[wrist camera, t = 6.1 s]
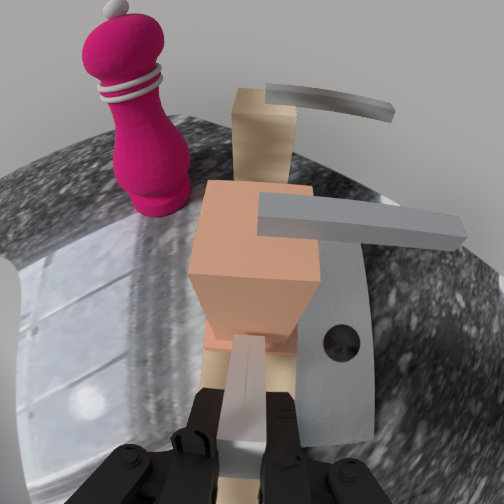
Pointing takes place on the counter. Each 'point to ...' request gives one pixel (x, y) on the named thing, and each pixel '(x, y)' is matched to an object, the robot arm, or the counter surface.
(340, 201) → the slide leg
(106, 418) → the counter surface
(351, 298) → the hole plate
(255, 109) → the rail
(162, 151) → the pepper mill
